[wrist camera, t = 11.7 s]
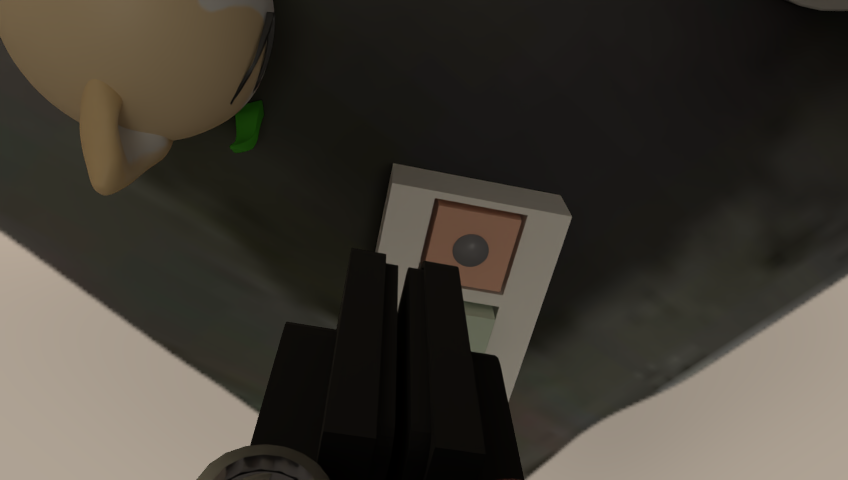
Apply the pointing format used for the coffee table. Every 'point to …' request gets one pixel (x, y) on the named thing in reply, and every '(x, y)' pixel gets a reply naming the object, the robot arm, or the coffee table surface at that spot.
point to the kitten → (143, 72)
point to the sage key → (479, 325)
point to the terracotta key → (472, 241)
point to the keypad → (527, 263)
